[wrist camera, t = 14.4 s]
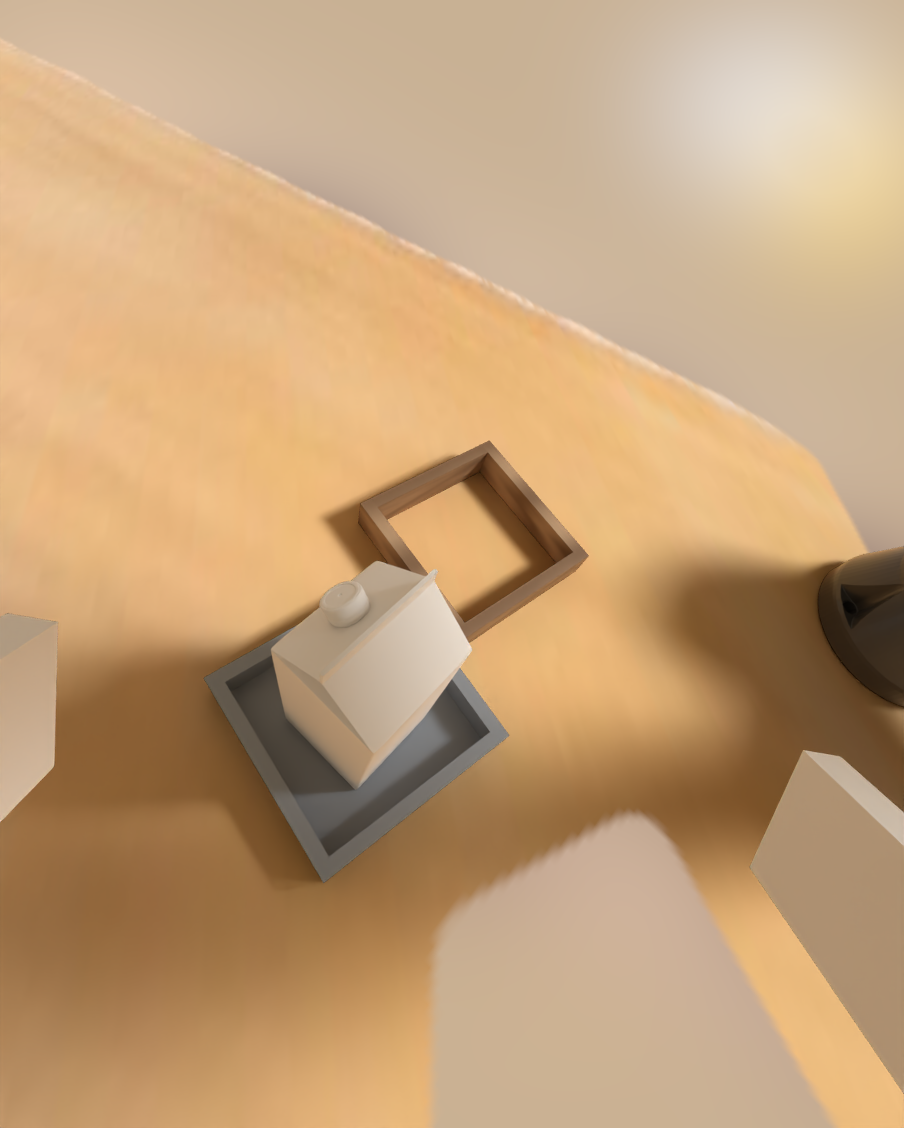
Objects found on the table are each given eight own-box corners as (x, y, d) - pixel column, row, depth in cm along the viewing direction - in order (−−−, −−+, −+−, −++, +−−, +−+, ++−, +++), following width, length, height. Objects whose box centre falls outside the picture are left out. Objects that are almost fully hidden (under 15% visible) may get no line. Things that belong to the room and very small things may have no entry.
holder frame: (575, 571, 52) (588, 555, 49) (454, 652, 46) (462, 639, 43) (481, 460, 55) (489, 440, 53) (358, 522, 49) (360, 503, 47)
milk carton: (425, 716, 42) (494, 621, 26) (355, 791, 39) (383, 737, 23) (358, 650, 44) (382, 520, 27) (284, 718, 40) (261, 615, 24)
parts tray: (497, 743, 43) (509, 735, 40) (323, 881, 37) (323, 883, 34) (386, 589, 47) (390, 572, 44) (210, 689, 41) (203, 677, 38)
